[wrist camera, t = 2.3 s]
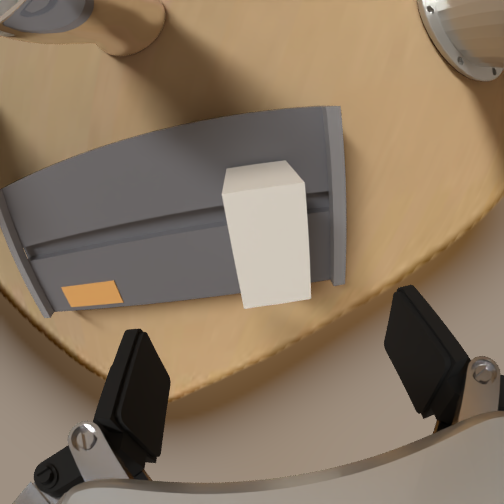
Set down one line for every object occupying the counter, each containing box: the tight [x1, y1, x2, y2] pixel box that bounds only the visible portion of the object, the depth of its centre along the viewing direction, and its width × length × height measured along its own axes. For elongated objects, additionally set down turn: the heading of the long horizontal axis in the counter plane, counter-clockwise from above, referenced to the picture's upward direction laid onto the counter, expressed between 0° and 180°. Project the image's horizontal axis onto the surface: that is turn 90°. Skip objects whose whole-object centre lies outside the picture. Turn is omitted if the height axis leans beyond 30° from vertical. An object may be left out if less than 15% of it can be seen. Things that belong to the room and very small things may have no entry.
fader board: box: [0, 106, 346, 318], centre depth 22 cm, size 30×14×4 cm, turn 98°
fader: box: [222, 160, 311, 309], centre depth 18 cm, size 4×7×7 cm, turn 8°
